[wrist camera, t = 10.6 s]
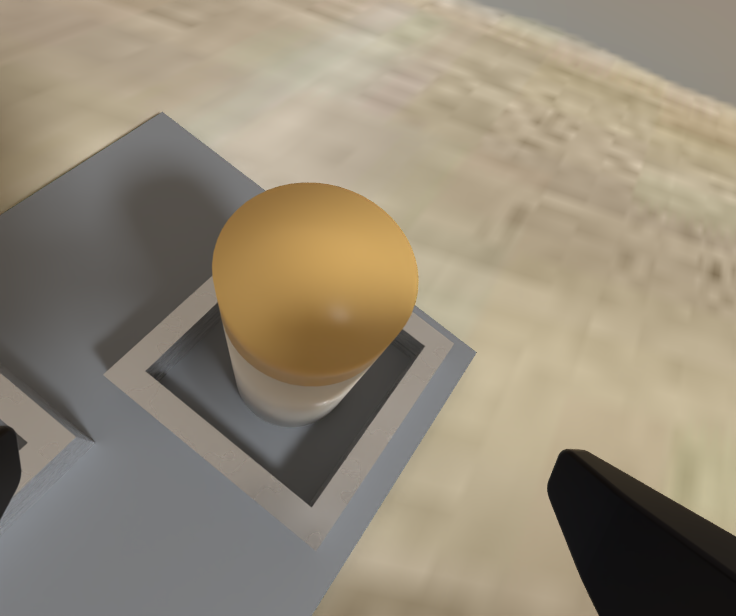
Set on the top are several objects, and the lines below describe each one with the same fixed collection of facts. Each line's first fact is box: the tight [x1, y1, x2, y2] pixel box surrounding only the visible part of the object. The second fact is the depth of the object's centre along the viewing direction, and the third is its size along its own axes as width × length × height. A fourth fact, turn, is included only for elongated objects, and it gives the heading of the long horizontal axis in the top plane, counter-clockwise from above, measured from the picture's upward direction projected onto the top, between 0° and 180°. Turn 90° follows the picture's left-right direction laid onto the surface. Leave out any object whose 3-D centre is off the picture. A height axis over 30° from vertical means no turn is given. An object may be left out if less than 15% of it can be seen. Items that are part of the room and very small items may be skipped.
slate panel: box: [0, 112, 477, 616], centre depth 18 cm, size 21×24×1 cm
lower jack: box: [103, 276, 454, 551], centre depth 19 cm, size 10×10×2 cm
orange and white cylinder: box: [212, 183, 418, 427], centre depth 15 cm, size 5×5×10 cm
